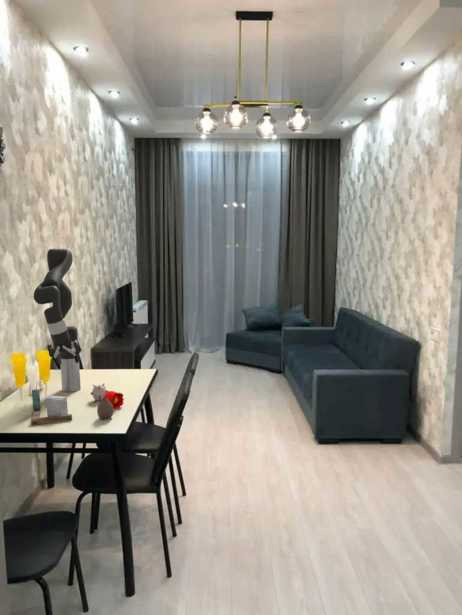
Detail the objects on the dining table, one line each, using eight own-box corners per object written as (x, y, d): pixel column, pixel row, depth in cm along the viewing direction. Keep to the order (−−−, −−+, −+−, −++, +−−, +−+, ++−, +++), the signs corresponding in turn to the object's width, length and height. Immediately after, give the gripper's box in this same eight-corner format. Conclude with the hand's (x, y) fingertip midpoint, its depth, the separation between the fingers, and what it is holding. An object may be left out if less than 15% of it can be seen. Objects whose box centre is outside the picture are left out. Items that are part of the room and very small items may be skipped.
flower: (114, 391, 239) (126, 393, 234) (110, 408, 237) (122, 410, 233) (102, 388, 233) (114, 391, 228) (98, 405, 231) (109, 408, 226)
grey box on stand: (33, 410, 229) (32, 389, 228) (71, 406, 234) (70, 385, 233) (30, 424, 212) (29, 401, 210) (72, 419, 217) (70, 397, 215)
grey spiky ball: (102, 408, 242) (102, 396, 235) (86, 402, 243) (86, 389, 236) (111, 395, 248) (112, 383, 241) (96, 388, 249) (96, 376, 243)
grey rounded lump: (99, 415, 222) (98, 396, 220) (115, 415, 222) (113, 395, 221) (96, 421, 215) (95, 401, 214) (112, 420, 215) (111, 400, 214)
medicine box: (68, 415, 223) (67, 396, 222) (62, 419, 219) (60, 399, 217) (53, 413, 225) (52, 395, 224) (47, 417, 221) (45, 398, 220)
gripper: (76, 325, 221) (86, 357, 226) (47, 328, 224) (58, 361, 229) (69, 331, 214) (80, 365, 219) (39, 335, 217) (50, 368, 222)
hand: (68, 363), depth 224 cm, fingers open, 8 cm apart
